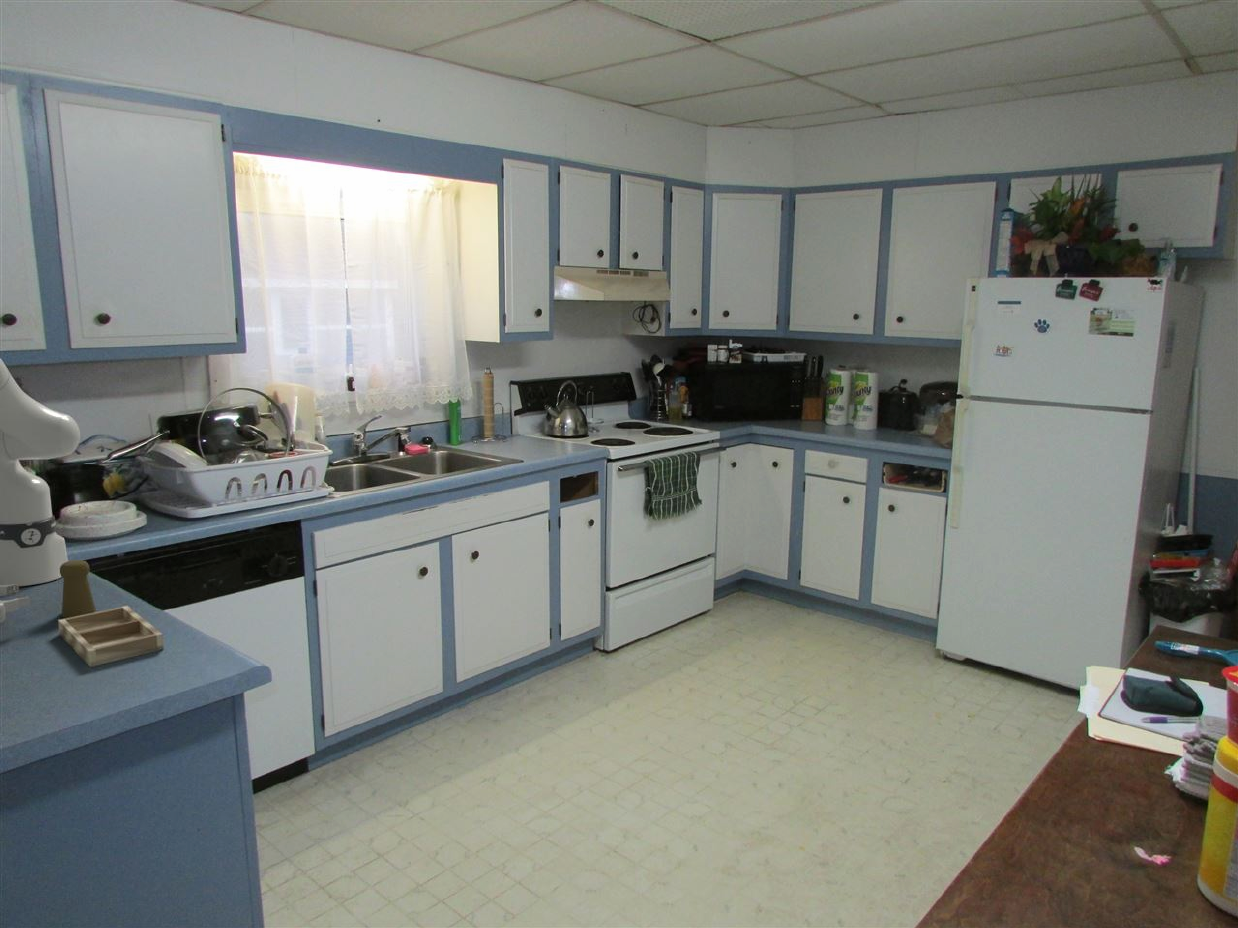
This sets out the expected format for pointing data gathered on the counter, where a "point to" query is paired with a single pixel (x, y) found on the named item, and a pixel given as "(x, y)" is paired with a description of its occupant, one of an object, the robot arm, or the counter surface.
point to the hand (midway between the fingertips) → (23, 594)
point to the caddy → (110, 635)
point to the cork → (76, 589)
